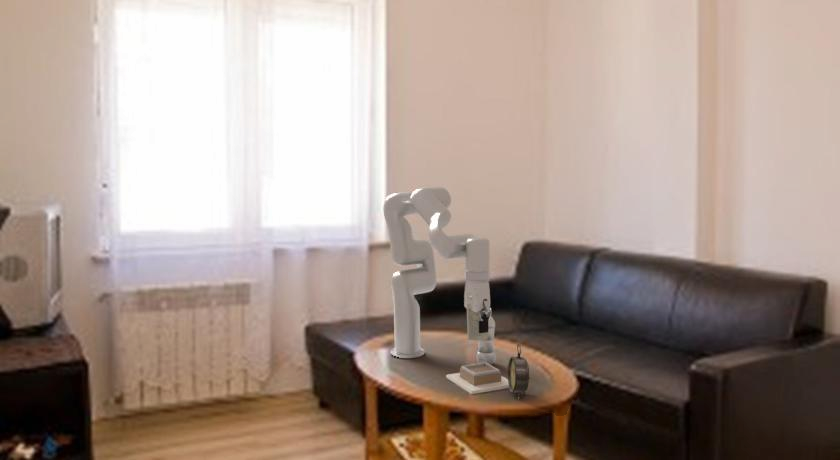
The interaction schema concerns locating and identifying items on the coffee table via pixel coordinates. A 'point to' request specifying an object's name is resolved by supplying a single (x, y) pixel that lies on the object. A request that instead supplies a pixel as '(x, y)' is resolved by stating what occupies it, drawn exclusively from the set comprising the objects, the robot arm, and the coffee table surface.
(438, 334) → the coffee table surface
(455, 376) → the display base
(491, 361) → the plastic bottle
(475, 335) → the skincare box
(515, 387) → the alarm clock
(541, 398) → the coffee table surface
